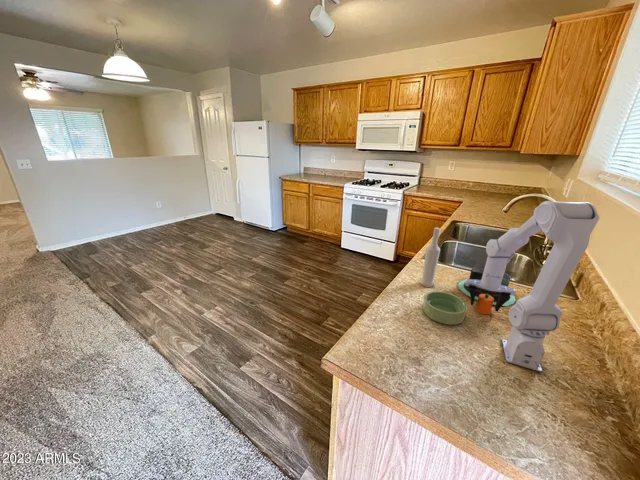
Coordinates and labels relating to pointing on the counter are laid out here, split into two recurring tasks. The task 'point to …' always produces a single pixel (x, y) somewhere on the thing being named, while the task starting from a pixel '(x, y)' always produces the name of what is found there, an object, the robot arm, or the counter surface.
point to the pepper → (484, 303)
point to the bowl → (444, 307)
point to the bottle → (431, 261)
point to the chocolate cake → (477, 275)
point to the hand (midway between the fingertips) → (483, 306)
